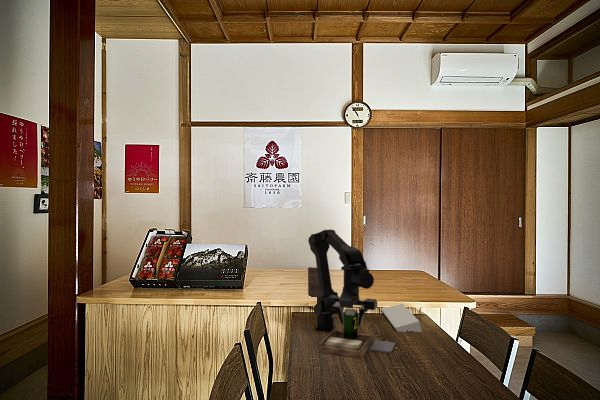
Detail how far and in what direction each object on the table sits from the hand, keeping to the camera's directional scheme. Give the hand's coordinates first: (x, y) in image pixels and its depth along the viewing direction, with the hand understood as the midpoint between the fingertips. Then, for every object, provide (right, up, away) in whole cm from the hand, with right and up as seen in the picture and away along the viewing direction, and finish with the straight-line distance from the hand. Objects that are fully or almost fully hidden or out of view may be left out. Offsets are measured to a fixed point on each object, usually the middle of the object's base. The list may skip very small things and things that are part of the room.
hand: (350, 325), depth 167 cm
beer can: (0, -7, 0) cm, 7 cm away
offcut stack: (-3, -7, -9) cm, 12 cm away
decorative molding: (+25, -7, +31) cm, 40 cm away
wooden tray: (-2, -7, -4) cm, 8 cm away
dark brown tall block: (-11, -6, +50) cm, 52 cm away
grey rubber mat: (+11, -7, -5) cm, 14 cm away
